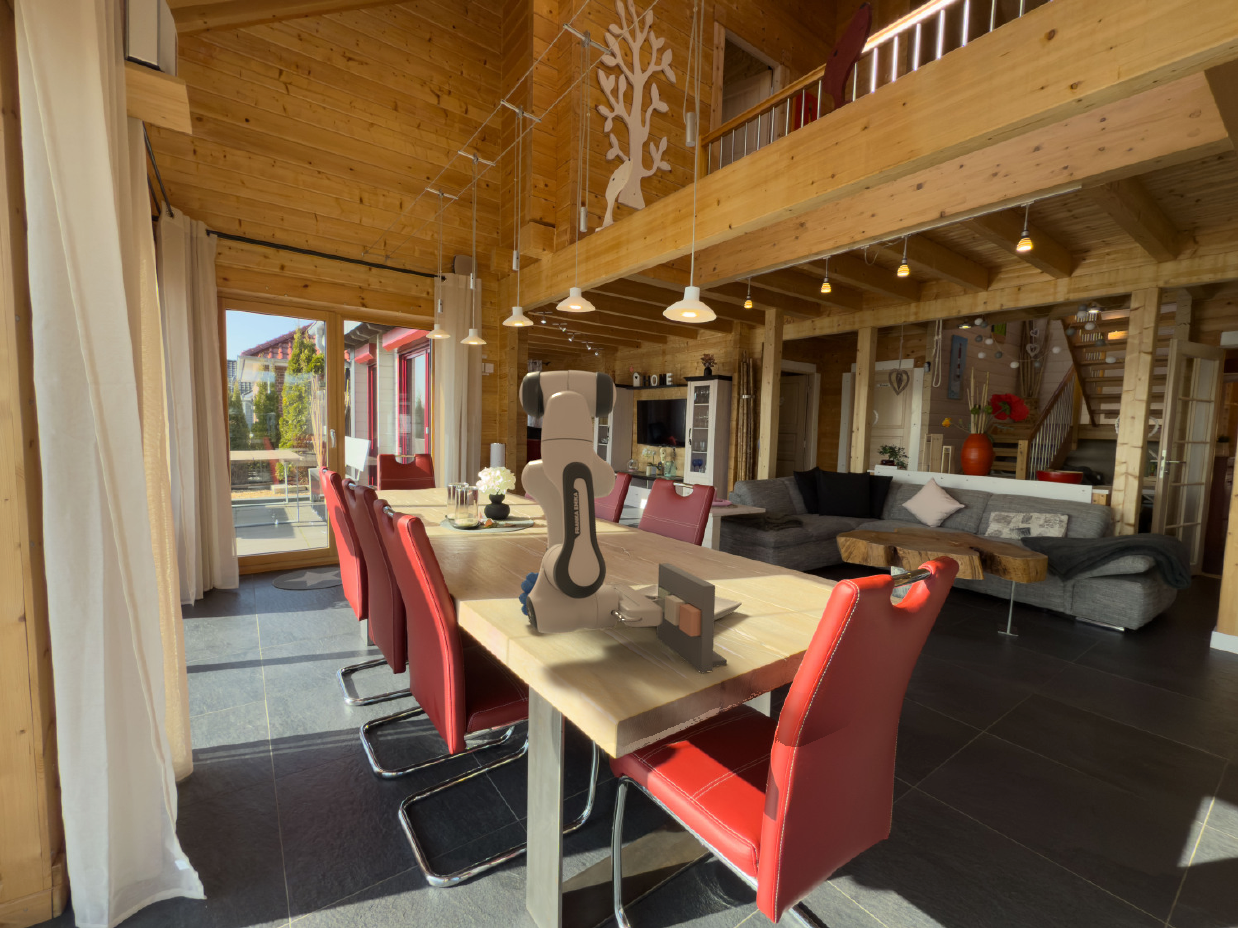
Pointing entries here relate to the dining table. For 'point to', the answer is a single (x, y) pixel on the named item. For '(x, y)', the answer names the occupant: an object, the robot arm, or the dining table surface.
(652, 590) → the square plate
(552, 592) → the robot arm
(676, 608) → the key ivory
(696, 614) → the key terracotta
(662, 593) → the key sage
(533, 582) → the grapes
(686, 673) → the dining table surface
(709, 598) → the keyguard
